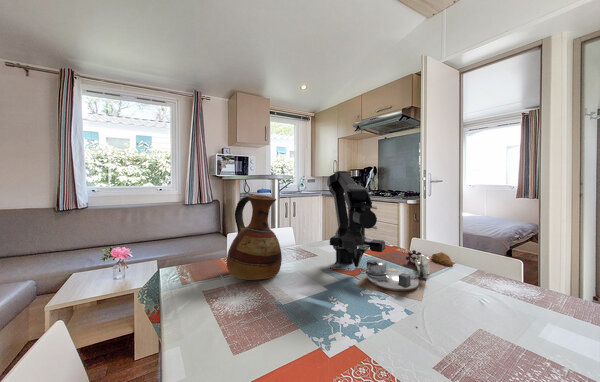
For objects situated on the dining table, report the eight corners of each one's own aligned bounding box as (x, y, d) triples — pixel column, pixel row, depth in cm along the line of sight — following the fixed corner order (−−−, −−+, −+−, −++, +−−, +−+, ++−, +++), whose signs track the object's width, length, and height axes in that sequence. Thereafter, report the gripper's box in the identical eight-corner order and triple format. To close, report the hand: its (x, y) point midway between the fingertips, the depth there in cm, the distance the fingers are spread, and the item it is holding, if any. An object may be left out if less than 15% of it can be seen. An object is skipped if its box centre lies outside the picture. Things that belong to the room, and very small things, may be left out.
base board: (354, 289, 76) (354, 285, 76) (371, 270, 92) (371, 266, 92) (421, 304, 66) (421, 300, 66) (427, 280, 82) (427, 276, 82)
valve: (435, 278, 83) (422, 266, 95) (435, 259, 83) (422, 250, 95) (415, 277, 84) (405, 265, 96) (415, 259, 84) (405, 249, 96)
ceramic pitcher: (267, 290, 76) (265, 196, 74) (214, 282, 82) (212, 195, 81) (290, 269, 94) (288, 193, 93) (245, 264, 101) (243, 193, 100)
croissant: (425, 258, 105) (425, 247, 105) (441, 259, 105) (441, 247, 105) (441, 270, 92) (441, 257, 91) (459, 270, 91) (460, 257, 91)
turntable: (402, 296, 68) (402, 280, 68) (358, 279, 80) (358, 265, 80) (427, 281, 77) (427, 267, 77) (384, 268, 90) (384, 256, 89)
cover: (379, 280, 76) (379, 267, 75) (361, 274, 81) (361, 262, 81) (391, 274, 80) (391, 262, 80) (373, 269, 85) (373, 257, 85)
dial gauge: (414, 278, 81) (414, 255, 81) (415, 275, 84) (415, 252, 83) (428, 280, 79) (428, 256, 79) (428, 277, 81) (428, 254, 81)
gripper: (322, 224, 83) (323, 269, 83) (377, 229, 73) (377, 280, 73) (335, 220, 92) (335, 260, 93) (385, 224, 82) (385, 268, 83)
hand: (356, 266), depth 85 cm, fingers closed
